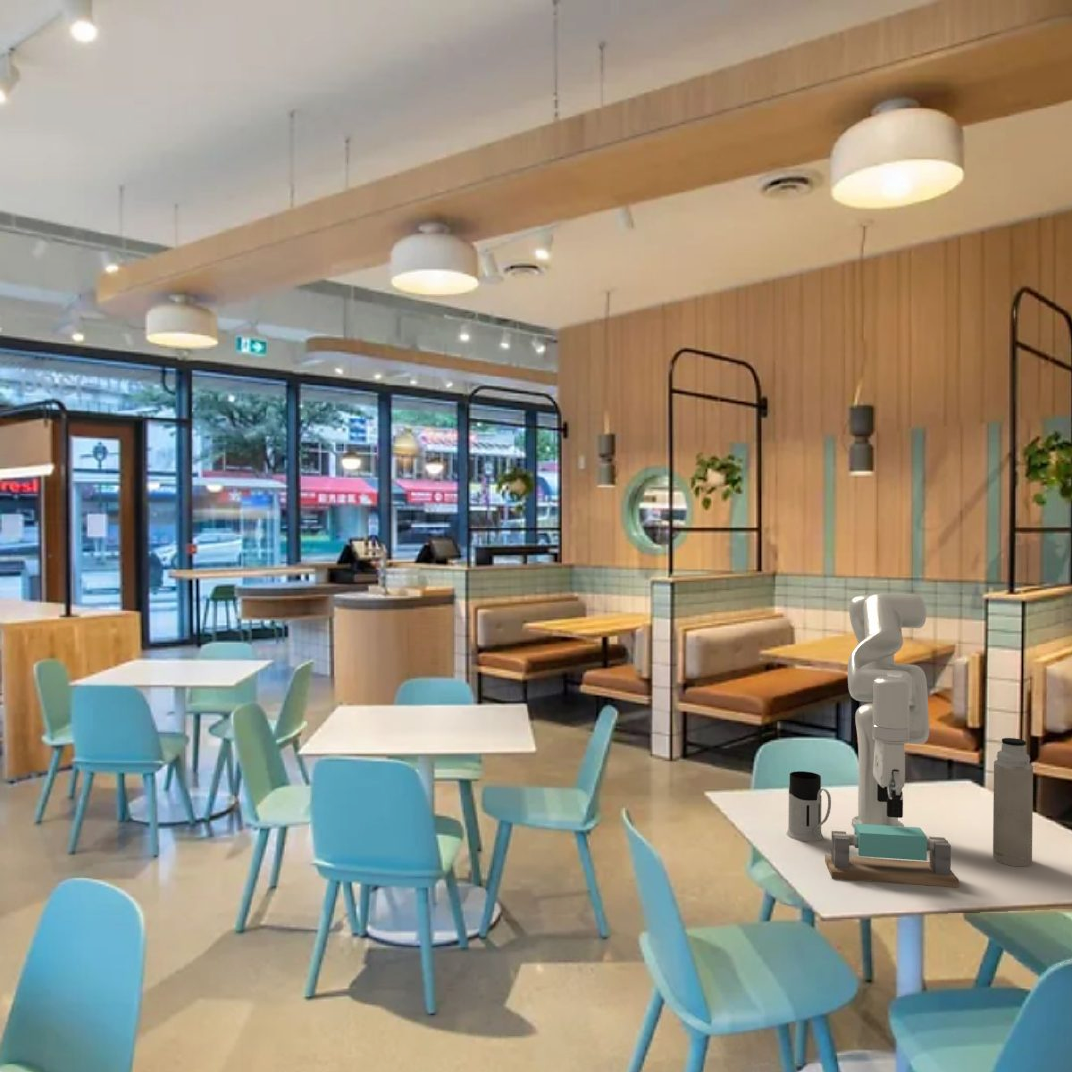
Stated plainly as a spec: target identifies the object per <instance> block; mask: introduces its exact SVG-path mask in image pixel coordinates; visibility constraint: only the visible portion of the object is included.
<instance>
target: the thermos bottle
mask: <svg viewBox="0 0 1072 1072" xmlns="http://www.w3.org/2000/svg"><path fill="white" fill-rule="evenodd" d="M1026 744H1027V742H1026V741H1025V739H1020V738H1015V737H1003V738H1001V749H1000V750H999V751H997V754H996V760H994V762H993V803H992V804H993V807H992V808H993V809H992V810H993V812H992V813H993V819H992V820H993V821H992V824H993V825H992V827H993V828H992V831H993V832H992V859H994V860H995V861H997V862H999V863H1001V864H1003V865H1008V866H1013V867H1028V866H1031V865H1032V864H1033V815H1034V814H1033V812H1034V810H1033V809H1034V808H1033V807H1034V806H1033V801H1034V799H1033V795H1034V793H1033V792H1034V786H1033V785H1034V780H1033V779H1034V766H1033V765H1032V764H1030V761H1031V758H1030V754H1028V753H1027V752H1026Z"/></svg>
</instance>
